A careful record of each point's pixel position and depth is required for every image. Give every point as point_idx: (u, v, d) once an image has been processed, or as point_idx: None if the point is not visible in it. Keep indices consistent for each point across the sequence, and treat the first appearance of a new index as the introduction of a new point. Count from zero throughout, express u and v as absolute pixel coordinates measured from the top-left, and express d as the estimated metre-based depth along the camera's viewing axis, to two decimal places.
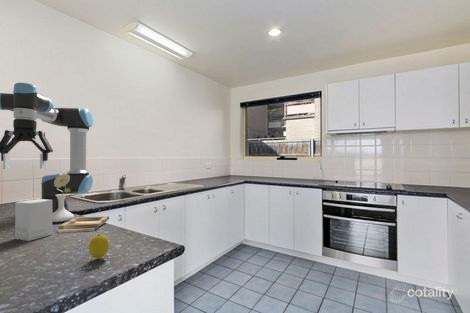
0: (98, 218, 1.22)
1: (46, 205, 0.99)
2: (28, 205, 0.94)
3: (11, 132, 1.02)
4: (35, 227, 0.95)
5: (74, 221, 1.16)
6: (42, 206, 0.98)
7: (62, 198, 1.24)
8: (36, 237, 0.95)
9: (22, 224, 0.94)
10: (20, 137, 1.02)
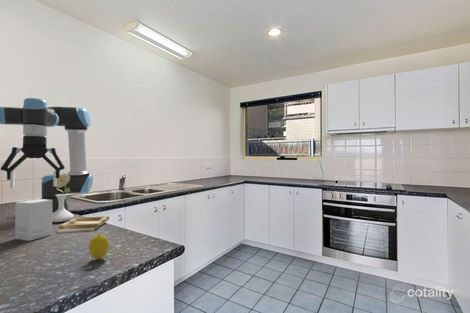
0: (98, 218, 1.22)
1: (46, 205, 0.99)
2: (28, 205, 0.94)
3: (19, 149, 0.96)
4: (35, 227, 0.95)
5: (74, 221, 1.16)
6: (42, 206, 0.98)
7: (62, 198, 1.24)
8: (36, 237, 0.95)
9: (22, 224, 0.94)
10: (30, 154, 0.98)
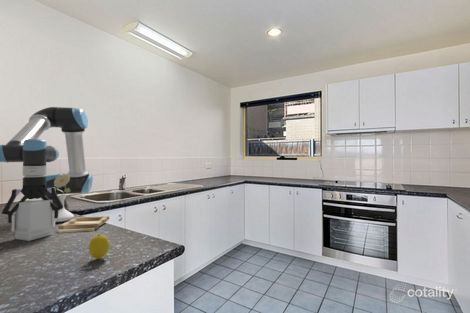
0: (98, 218, 1.22)
1: (46, 205, 0.99)
2: (28, 205, 0.94)
3: (19, 191, 0.96)
4: (35, 227, 0.95)
5: (74, 221, 1.16)
6: (42, 205, 0.98)
7: (62, 198, 1.24)
8: (36, 237, 0.95)
9: (23, 224, 0.94)
10: (30, 195, 0.97)
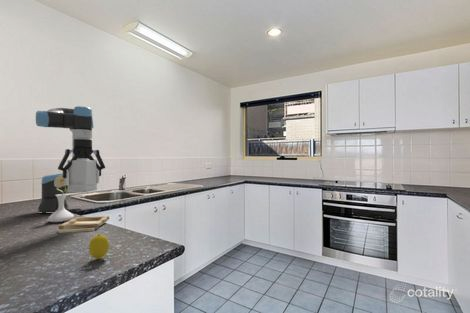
0: (98, 218, 1.22)
1: (94, 164, 1.16)
2: (84, 162, 1.10)
3: (71, 150, 1.10)
4: (89, 181, 1.12)
5: (74, 221, 1.16)
6: (92, 164, 1.15)
7: (62, 198, 1.24)
8: (89, 190, 1.12)
9: (78, 178, 1.10)
10: (81, 155, 1.13)
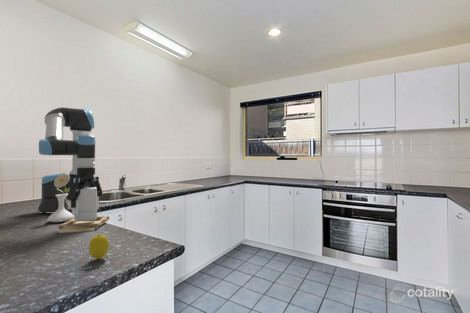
0: (98, 218, 1.22)
1: None
2: (94, 190, 1.13)
3: (78, 179, 1.11)
4: None
5: (74, 221, 1.16)
6: None
7: (62, 198, 1.24)
8: None
9: (87, 206, 1.12)
10: None
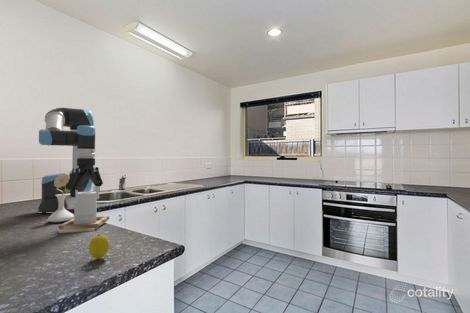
0: (98, 218, 1.22)
1: None
2: (94, 194, 1.13)
3: (78, 170, 1.11)
4: (96, 212, 1.15)
5: None
6: None
7: (62, 198, 1.24)
8: None
9: (87, 211, 1.12)
10: (86, 174, 1.14)
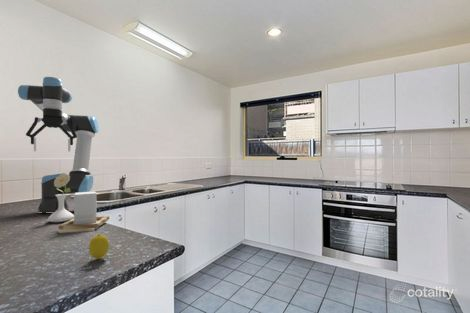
0: (98, 218, 1.22)
1: None
2: (94, 195, 1.13)
3: (40, 119, 1.16)
4: None
5: None
6: None
7: (62, 198, 1.24)
8: None
9: (87, 212, 1.11)
10: (50, 124, 1.18)
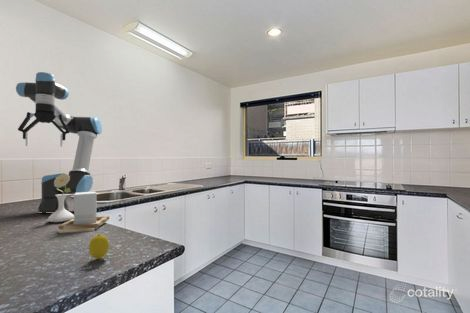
0: (98, 218, 1.22)
1: None
2: (94, 195, 1.13)
3: (32, 114, 1.17)
4: None
5: None
6: None
7: (62, 198, 1.24)
8: None
9: (87, 212, 1.11)
10: (42, 119, 1.18)
